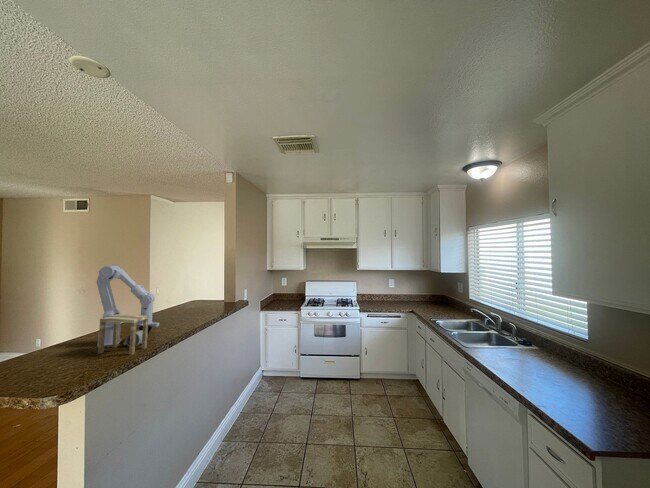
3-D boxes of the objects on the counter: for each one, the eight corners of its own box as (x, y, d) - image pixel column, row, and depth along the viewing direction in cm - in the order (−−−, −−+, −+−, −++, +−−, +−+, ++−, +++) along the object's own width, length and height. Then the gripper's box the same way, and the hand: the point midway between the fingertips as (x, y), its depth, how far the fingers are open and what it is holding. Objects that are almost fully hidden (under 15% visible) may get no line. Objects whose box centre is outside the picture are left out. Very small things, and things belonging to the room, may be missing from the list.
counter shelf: (132, 354, 128) (134, 319, 129) (97, 353, 129) (100, 318, 130) (146, 347, 138) (148, 315, 139) (114, 346, 139) (116, 314, 140)
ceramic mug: (148, 342, 147) (149, 328, 147) (139, 347, 139) (139, 332, 139) (129, 342, 146) (130, 328, 147) (118, 347, 138) (119, 333, 138)
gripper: (129, 316, 146) (127, 340, 145) (153, 317, 145) (152, 341, 145) (138, 313, 153) (137, 336, 152) (162, 314, 153) (160, 337, 152)
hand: (145, 338), depth 149 cm, fingers closed
